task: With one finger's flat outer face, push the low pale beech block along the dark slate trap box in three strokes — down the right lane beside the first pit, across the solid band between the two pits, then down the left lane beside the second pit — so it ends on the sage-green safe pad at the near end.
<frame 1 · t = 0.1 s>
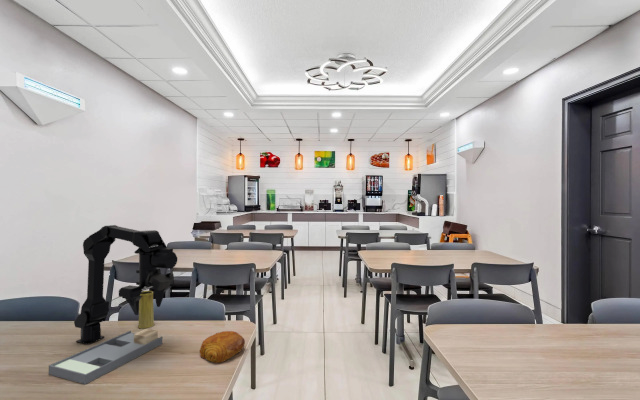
hand: (148, 310, 115), 15 cm above the table, fingers open, 9 cm apart
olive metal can: (146, 326, 138), on the table
trap box: (111, 357, 111), on the table
croissant: (222, 353, 115), on the table
beech block: (145, 340, 119), point 2 cm above the table, touching trap box
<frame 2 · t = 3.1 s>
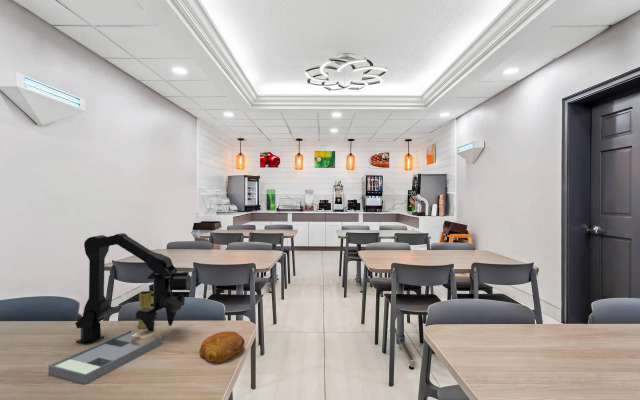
hand: (161, 329, 126), 3 cm above the table, fingers open, 9 cm apart
beech block: (143, 341, 118), point 2 cm above the table
everything else where it was.
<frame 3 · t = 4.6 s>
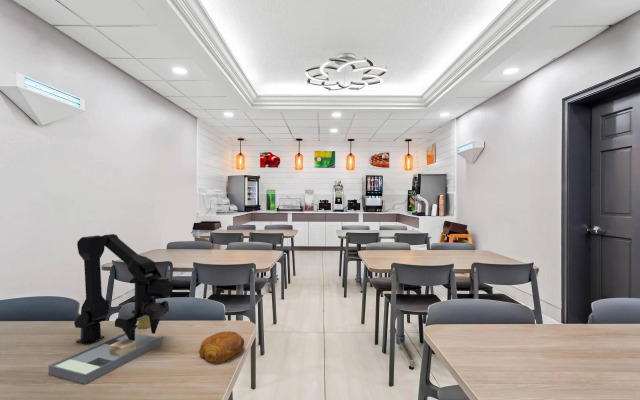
hand: (143, 338, 118), 3 cm above the table, fingers open, 9 cm apart
beech block: (123, 351, 111), point 2 cm above the table, touching gripper, trap box
everything else where it was.
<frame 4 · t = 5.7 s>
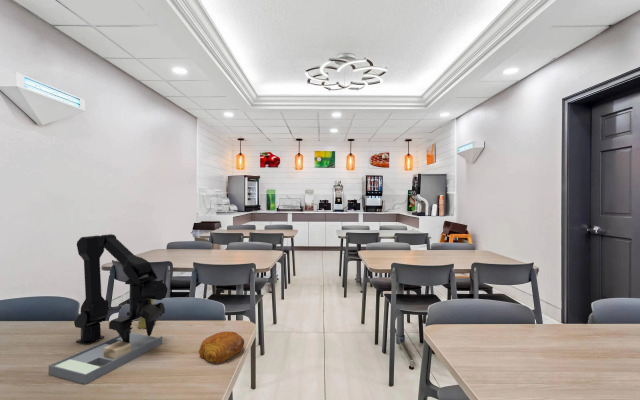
hand: (138, 340, 116), 3 cm above the table, fingers open, 9 cm apart
beech block: (117, 354, 109), point 2 cm above the table, touching gripper, trap box
everything else where it was.
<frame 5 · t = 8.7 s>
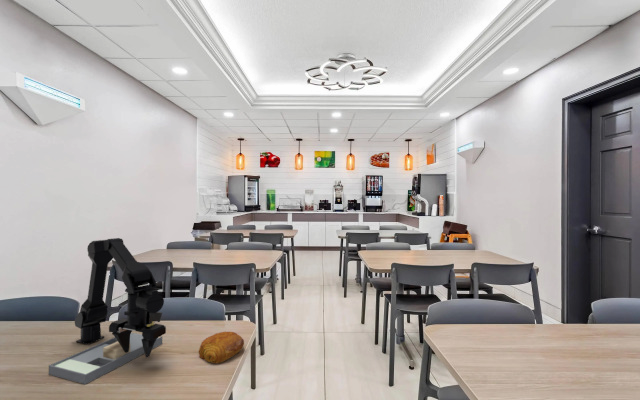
hand: (137, 354, 106), 3 cm above the table, fingers open, 9 cm apart
nothing on the table moved.
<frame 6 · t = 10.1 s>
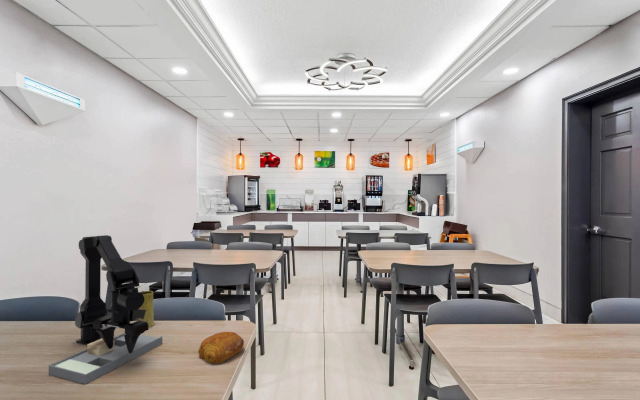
hand: (120, 350, 109), 3 cm above the table, fingers open, 9 cm apart
beech block: (101, 351, 111), point 2 cm above the table, touching trap box
everything else where it was.
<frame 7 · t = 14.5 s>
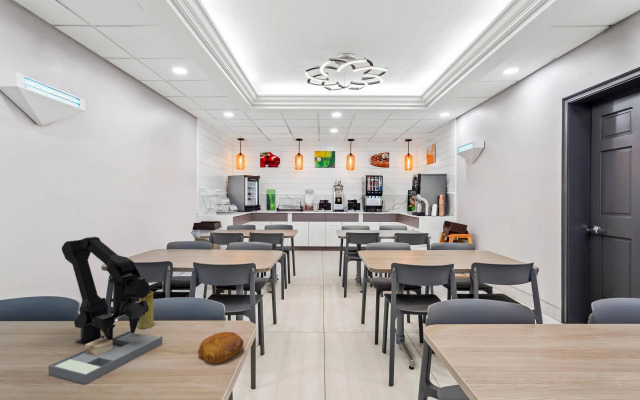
hand: (122, 337, 119), 3 cm above the table, fingers open, 9 cm apart
beech block: (99, 351, 111), point 2 cm above the table, touching gripper
everything else where it was.
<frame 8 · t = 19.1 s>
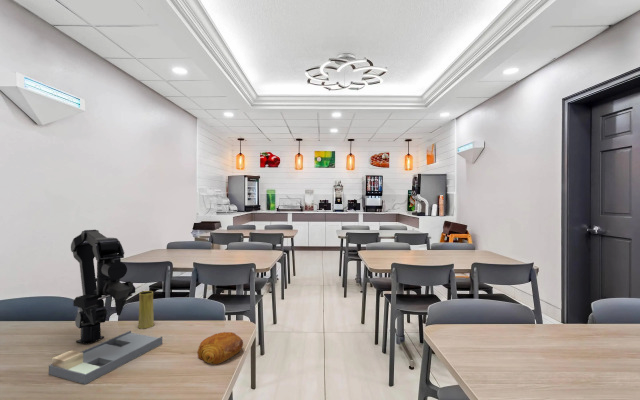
hand: (106, 319, 113), 12 cm above the table, fingers open, 9 cm apart
beech block: (67, 365, 102), point 2 cm above the table, touching trap box
everything else where it was.
at the end: beech block inside the target area (1.3 cm from its centre), point 2.0 cm above the table; beech block tilted 0° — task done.
